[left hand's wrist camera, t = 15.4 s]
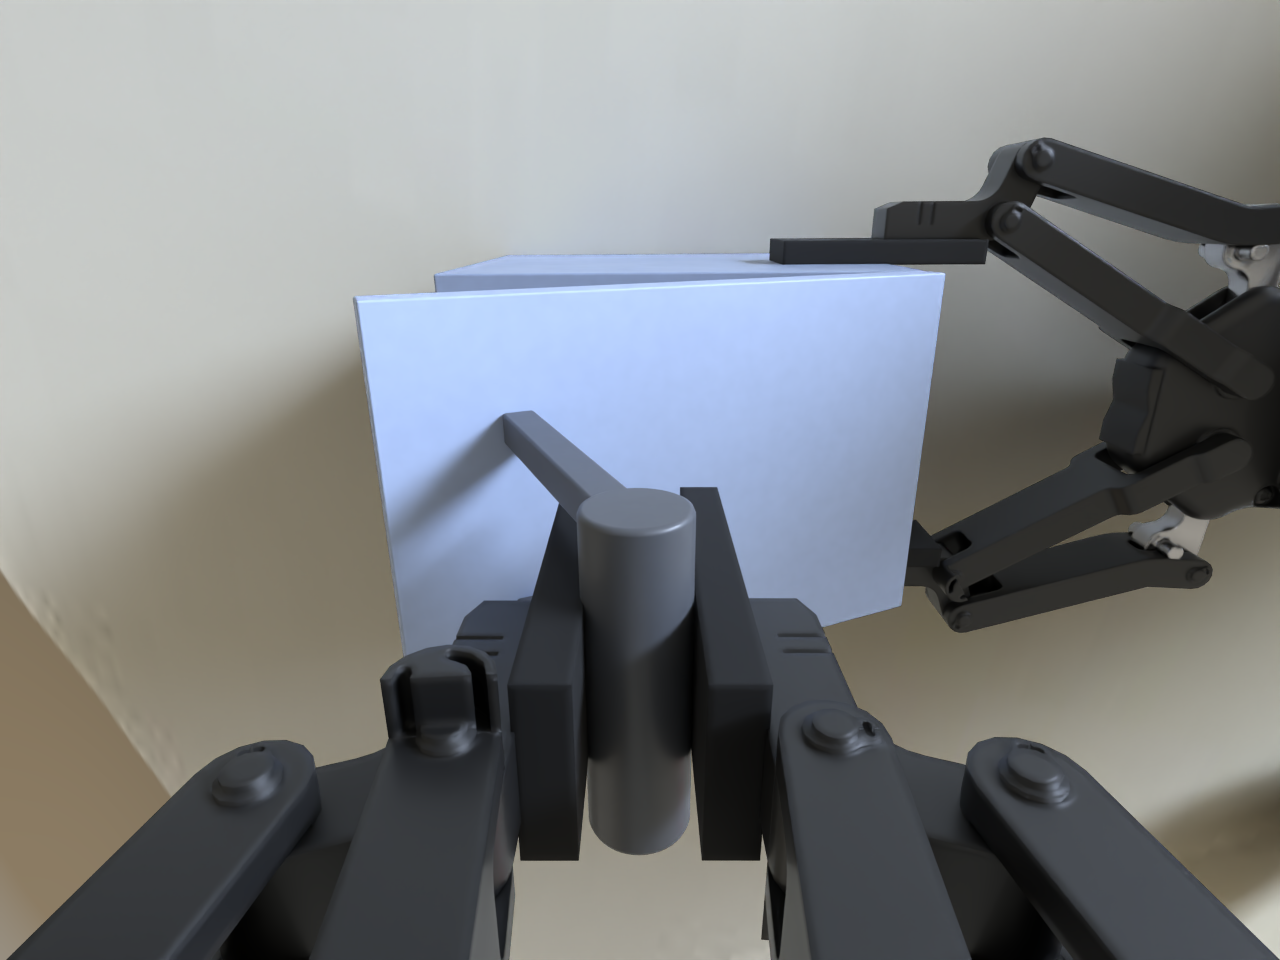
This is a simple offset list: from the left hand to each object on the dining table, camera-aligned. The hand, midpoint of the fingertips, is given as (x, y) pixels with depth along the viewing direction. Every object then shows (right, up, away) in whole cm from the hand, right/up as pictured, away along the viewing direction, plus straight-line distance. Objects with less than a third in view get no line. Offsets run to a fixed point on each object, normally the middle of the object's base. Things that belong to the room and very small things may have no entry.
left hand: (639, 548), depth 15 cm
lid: (+1, +1, +4) cm, 4 cm away
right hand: (+5, +4, +11) cm, 13 cm away
